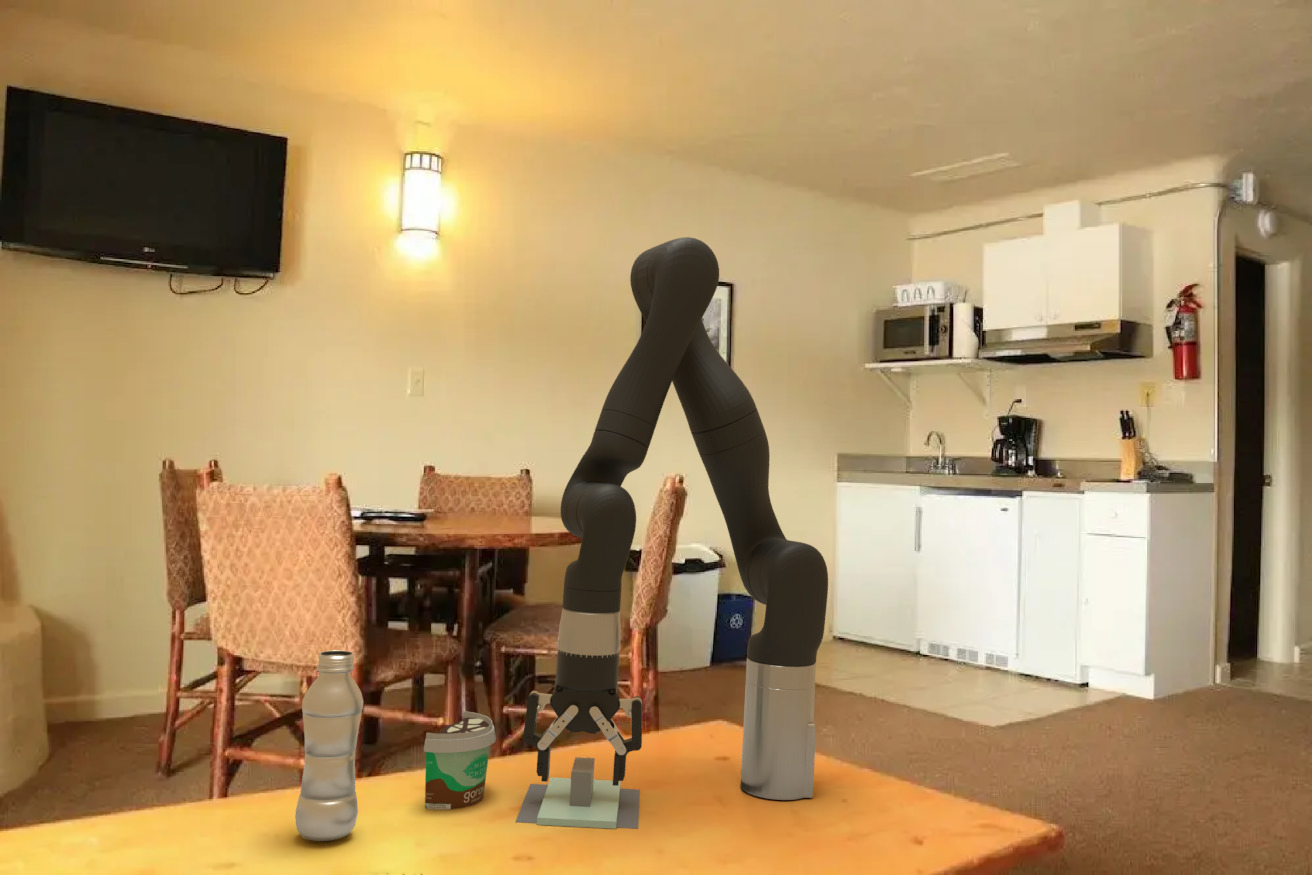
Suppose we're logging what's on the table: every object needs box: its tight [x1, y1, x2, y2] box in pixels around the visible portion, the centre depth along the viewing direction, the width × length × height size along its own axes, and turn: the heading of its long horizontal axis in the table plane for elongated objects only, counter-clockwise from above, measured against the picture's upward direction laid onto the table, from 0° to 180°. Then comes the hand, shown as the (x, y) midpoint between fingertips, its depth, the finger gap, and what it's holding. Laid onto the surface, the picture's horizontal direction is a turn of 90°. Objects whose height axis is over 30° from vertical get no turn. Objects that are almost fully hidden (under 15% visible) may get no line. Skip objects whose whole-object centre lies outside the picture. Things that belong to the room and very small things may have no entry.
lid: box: [536, 756, 622, 830], centre depth 124 cm, size 9×15×5 cm, turn 0°
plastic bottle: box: [294, 649, 364, 842], centre depth 112 cm, size 6×7×20 cm
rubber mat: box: [515, 783, 641, 830], centre depth 123 cm, size 14×14×1 cm
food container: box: [423, 710, 497, 811], centre depth 124 cm, size 12×6×10 cm, turn 168°
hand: (580, 781), depth 123 cm, fingers open, 8 cm apart
